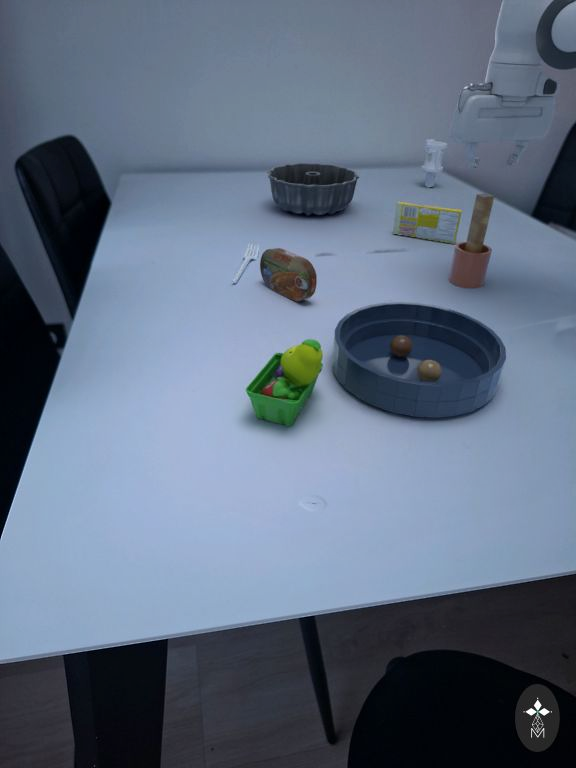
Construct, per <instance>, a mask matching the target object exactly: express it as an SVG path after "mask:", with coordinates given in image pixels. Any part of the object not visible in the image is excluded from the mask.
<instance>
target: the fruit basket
mask: <svg viewBox="0 0 576 768" xmlns="http://www.w3.org/2000/svg"><path fill="white" fill-rule="evenodd" d="M321 345H322V344H320V342H319V341H318V340H316V339H315V338H307V339H305V340H303V341H302V342H301V344H298V345H294V346H292V347H290V348H287V350H285V351H284V352H276V353H274V354H273V355H272V357H271V358H270V359H269V360H268V362H267V363H265V365H264V366H263V367H262V368H261V370H260V371H259V372H258V373H257V374H256V376H255V377H254V378H253V379H252V380H251V382H250V383H249V384H248V385H247V386H246V388H245V392H246V394H247V396H248V397H249V400H250V403H251V405H252V408H253V411H254V414H255V416H256V418H257V419H259V420H265V421H267V422H271V423H274V424H278V425H284V426H286V427H292V425H293V424H294V422H295V420H296V418H297V417H298V416H299V415H300V413H301V411H302V409H303V408H304V406H305V405H306V403H307V401H308V400H309V398H310V397H311V395H312V394H313V391H314V388H315V386H316V383H317V381H318V378H319V375H320V373H321V372H322V369H323V367H324V363H323V362H322V360H323V357H324V354H323V353H324V352H323V350H322V346H321Z"/></svg>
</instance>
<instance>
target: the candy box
mask: <svg viewBox="0 0 576 768" xmlns="http://www.w3.org/2000/svg"><path fill="white" fill-rule="evenodd" d="M395 207H396V208H395V215H394V223H393V229H392V234H393V233H395V234H401V235H406V236H411V237H410V238H412V237H417V238H416V239H419V238H422V239H421V240H425V239H428V240H427V241H431V240H434V241H433V242H438V241H440V242H439V243H444V242H445V244H452V245H456V242H457V237H458V231H459V227H460V221H461V217H462V213H463V210H462V209H456V208H449V207H440V206H433V205H426V204H420V203H419V204H417V203H411V202H403V201H398V202H396V206H395ZM406 236H405V237H406Z"/></svg>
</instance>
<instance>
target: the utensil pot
mask: <svg viewBox="0 0 576 768" xmlns="http://www.w3.org/2000/svg"><path fill="white" fill-rule="evenodd" d="M466 242H467V241H463V242H458V243H455V247H454V251H453V257H452V261H451V264H450V265H451V266H450V271H449V276H448V282H449V283H450V284H452V285H453V286H455V287H459V288H462V289H469V290H470V289H480V288H482V287H484V284H485V280H486V276H487V273H488V269H489V263H490V260H491V256H492V253H493V249H492V248H491V247H490V246H489V245H487V244H484V243H483V247H482V251H481V253H471V252H467V251H465V246H466Z"/></svg>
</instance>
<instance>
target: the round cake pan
mask: <svg viewBox="0 0 576 768" xmlns="http://www.w3.org/2000/svg"><path fill="white" fill-rule="evenodd" d="M335 326H336V327H335V328H334V333H333V334H334V335H333V347H332V358H331V359H332V360H331V361H332V365H331V366H332V370H333V373H334V375H335V379H336V380H337V381H338V382H339V383H340V384H341V386H343V388H344V389H345V390H347V391H348V392H349V393H350V394H352V395H353V396H355V397H356V398H358V399H359V400H361V401H364V402H365V403H367V404H369V405H371V406H373V407H376V408H379V409H382V410H383V411H384V410H385V411H387V412H391V413H393V414H399V415H404V416H405V415H406V416H410V417H417V418H447V417H448V418H449V417H456V416H461V415H464V414H468V413H471V412H472V413H473V412H474V411H476V410H478V409H480V408H482V407H485V405H487V403H488V402H490V401H491V400H492V399H493V398H494V396H495V394H496V392H497V389H498V386H499V384H500V380H501V377H502V373H503V370H504V366H505V363H506V360H507V349H506V346H505V344H504V342H503V340H502V338H501V337H500V336H499V335H498V334H497V333H496V332H495V331H494V329H492V328H491V327H489V326H488V325H486V324H484V323H483V322H481V321H480V320H478V319H476V318H474V317H471V316H469V315H468V314H465V313H462V312H459V311H457V310H455V309H450V308H447V307H443V306H439V305H434V304H428V303H420V302H410V301H409V302H408V301H398V302H397V301H392V302H380V303H375V304H369V305H366V306H363V307H359V308H356V309H355V310H352V311H351V312H348V313H347V314H345V315H344V316H343V317H342V318H341V319H340V320H339V321H338V323H337V324H336V325H335ZM399 335H404V336H407V337H408V338H409V339H410V340H411V342H412V346H413V347H412V351H411V352H410V354H409V355H407V356H405V357H397V356H395V355H394V354H393V353H392V352H391V350H390V343H391V341H392V339H393V338H395V337H396V336H399ZM425 360H434V361H436V362H437V363H439V365H440V366H441V370H442V373H441V376H440V378H439V379H438V380H437V381H436V382H423V381H421V380H420V379H419V377H418V375H417V368H418V366H419V364H420V363H421V362H423V361H425Z"/></svg>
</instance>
